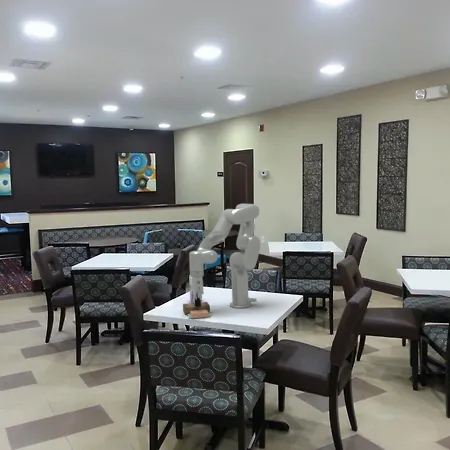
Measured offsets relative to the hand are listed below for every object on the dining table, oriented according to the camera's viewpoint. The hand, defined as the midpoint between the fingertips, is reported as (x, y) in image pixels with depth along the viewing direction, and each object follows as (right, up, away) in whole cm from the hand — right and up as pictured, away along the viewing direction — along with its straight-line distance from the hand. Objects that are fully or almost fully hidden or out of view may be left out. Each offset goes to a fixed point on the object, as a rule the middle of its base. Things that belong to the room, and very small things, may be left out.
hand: (197, 306), depth 260 cm
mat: (+1, -5, -2) cm, 5 cm away
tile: (+1, -3, -4) cm, 6 cm away
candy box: (-3, -3, +26) cm, 26 cm away
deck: (-1, -4, +6) cm, 8 cm away
